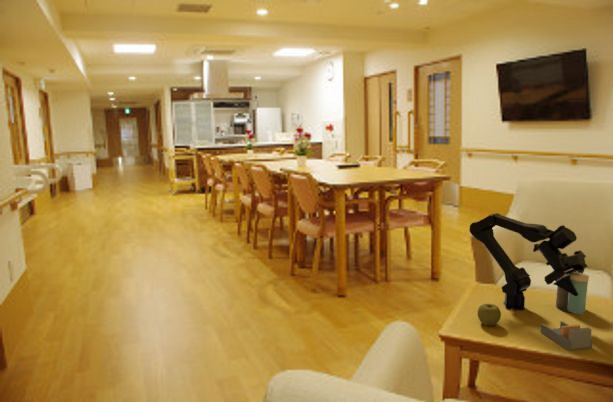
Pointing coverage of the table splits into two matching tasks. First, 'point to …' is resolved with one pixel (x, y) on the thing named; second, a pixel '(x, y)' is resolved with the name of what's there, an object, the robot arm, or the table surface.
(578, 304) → the jar
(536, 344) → the table surface
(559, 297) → the pillar candle
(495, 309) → the apple
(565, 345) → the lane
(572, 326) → the plate
